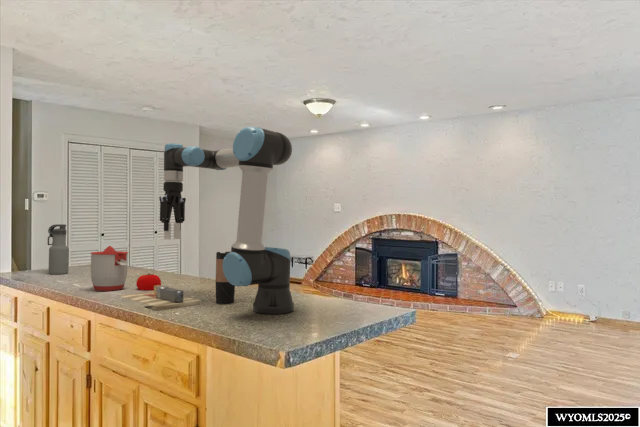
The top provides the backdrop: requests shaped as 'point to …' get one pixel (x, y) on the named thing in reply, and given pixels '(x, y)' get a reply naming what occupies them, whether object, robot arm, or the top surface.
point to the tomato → (148, 282)
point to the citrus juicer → (108, 269)
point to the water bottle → (58, 250)
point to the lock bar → (169, 294)
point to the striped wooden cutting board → (159, 301)
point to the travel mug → (223, 282)
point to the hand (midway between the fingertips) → (172, 238)
